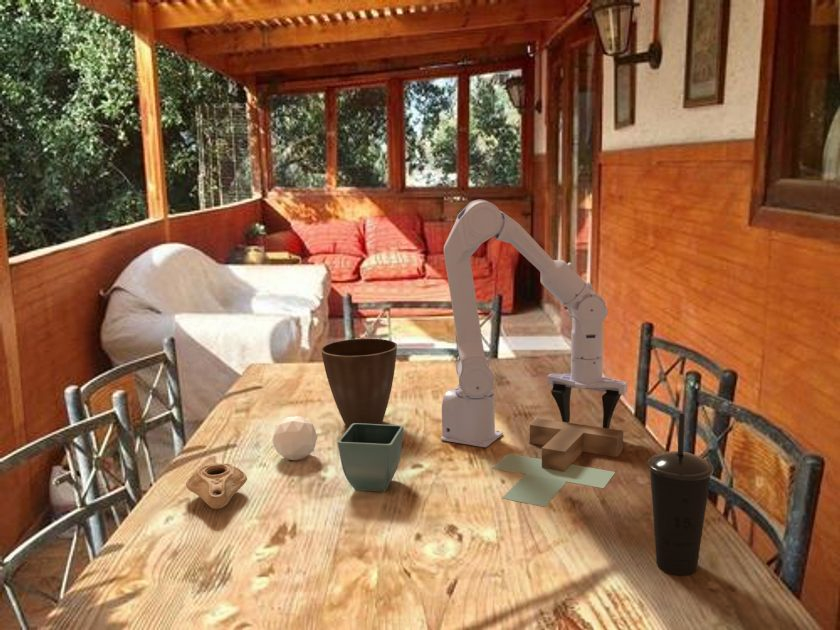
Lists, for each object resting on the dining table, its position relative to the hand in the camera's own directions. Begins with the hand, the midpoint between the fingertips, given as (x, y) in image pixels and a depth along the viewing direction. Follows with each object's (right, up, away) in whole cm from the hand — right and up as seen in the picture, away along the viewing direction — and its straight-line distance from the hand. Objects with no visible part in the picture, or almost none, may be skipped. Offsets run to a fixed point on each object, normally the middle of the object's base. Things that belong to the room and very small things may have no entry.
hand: (585, 426), depth 140 cm
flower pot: (-39, -7, -19) cm, 44 cm away
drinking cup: (+1, -11, -46) cm, 47 cm away
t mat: (-11, -6, -19) cm, 23 cm away
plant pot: (-43, -1, +10) cm, 44 cm away
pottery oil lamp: (-63, -9, -23) cm, 68 cm away
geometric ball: (-53, -5, -6) cm, 54 cm away
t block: (-5, -4, -9) cm, 11 cm away
